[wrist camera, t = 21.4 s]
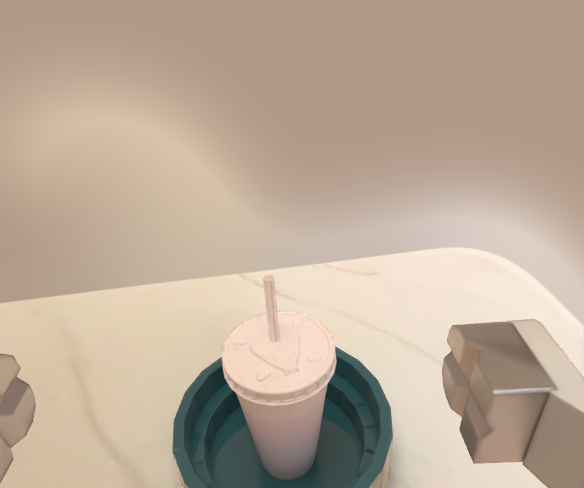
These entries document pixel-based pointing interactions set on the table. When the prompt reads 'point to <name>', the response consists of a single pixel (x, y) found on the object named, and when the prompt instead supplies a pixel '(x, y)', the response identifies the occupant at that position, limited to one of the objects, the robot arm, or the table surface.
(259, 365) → the smoothie
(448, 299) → the table surface
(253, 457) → the bowl
